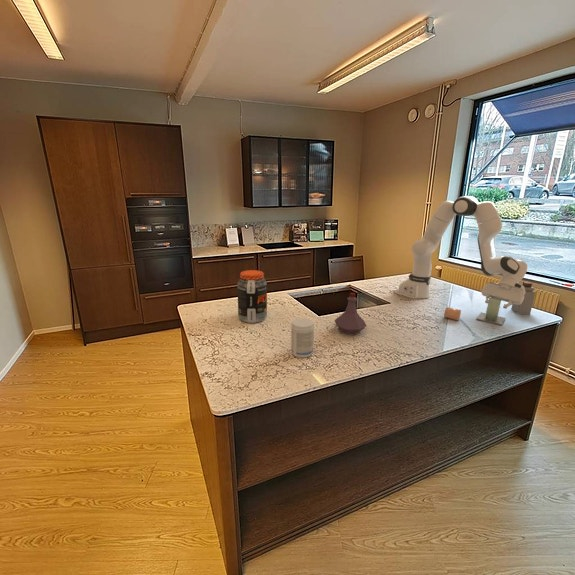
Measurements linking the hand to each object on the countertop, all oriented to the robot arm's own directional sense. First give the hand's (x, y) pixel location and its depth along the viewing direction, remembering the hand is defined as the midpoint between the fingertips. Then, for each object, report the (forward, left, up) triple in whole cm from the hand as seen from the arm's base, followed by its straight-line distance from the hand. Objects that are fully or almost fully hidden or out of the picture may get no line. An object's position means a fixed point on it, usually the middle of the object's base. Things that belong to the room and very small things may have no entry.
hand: (495, 305), depth 177 cm
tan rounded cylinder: (-17, -16, -2) cm, 24 cm away
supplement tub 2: (-56, -102, -8) cm, 116 cm away
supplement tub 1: (-100, -90, -8) cm, 134 cm away
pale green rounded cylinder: (-1, -2, -7) cm, 7 cm away
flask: (-52, -68, -8) cm, 86 cm away
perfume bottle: (+10, +24, -8) cm, 28 cm away
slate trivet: (-1, -2, -8) cm, 8 cm away
